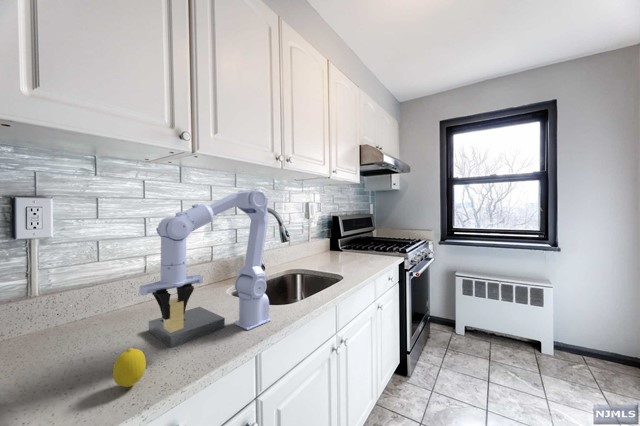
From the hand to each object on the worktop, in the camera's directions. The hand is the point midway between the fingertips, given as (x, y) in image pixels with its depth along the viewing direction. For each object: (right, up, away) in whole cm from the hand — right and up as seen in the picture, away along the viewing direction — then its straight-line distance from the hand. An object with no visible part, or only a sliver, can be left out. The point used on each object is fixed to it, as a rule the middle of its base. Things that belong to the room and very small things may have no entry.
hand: (173, 316), depth 66 cm
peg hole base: (-4, -10, +14) cm, 18 cm away
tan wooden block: (0, -3, 0) cm, 3 cm away
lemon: (-2, -10, -12) cm, 16 cm away
